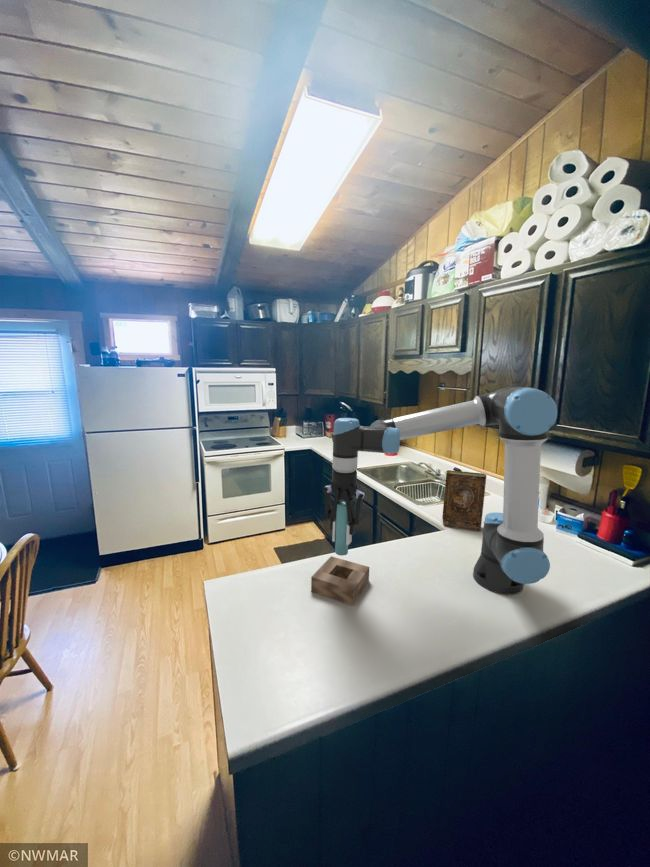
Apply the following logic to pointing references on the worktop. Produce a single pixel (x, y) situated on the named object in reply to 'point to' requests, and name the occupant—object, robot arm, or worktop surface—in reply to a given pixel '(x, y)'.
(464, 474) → the book
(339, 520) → the peg
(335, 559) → the socket block
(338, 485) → the robot arm
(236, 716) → the worktop surface
